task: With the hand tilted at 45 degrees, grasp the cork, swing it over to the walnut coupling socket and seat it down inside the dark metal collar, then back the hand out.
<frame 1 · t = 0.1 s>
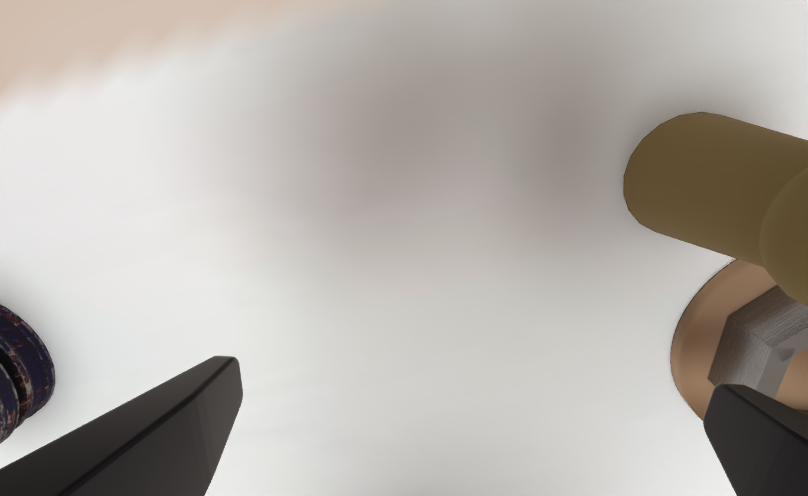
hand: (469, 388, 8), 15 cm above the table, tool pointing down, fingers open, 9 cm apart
coupling socket: (793, 341, 23), on the table
cork: (684, 175, 21), on the table
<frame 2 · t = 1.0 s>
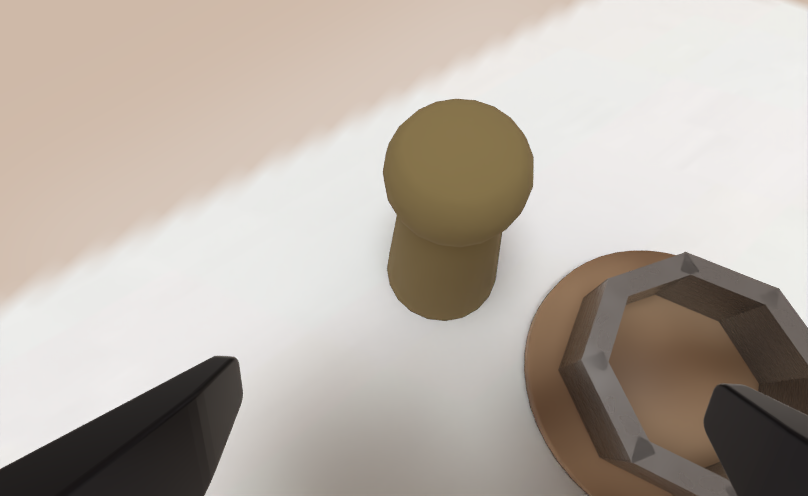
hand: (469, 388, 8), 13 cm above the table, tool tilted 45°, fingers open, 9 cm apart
coupling socket: (657, 379, 20), on the table
cork: (441, 268, 23), on the table
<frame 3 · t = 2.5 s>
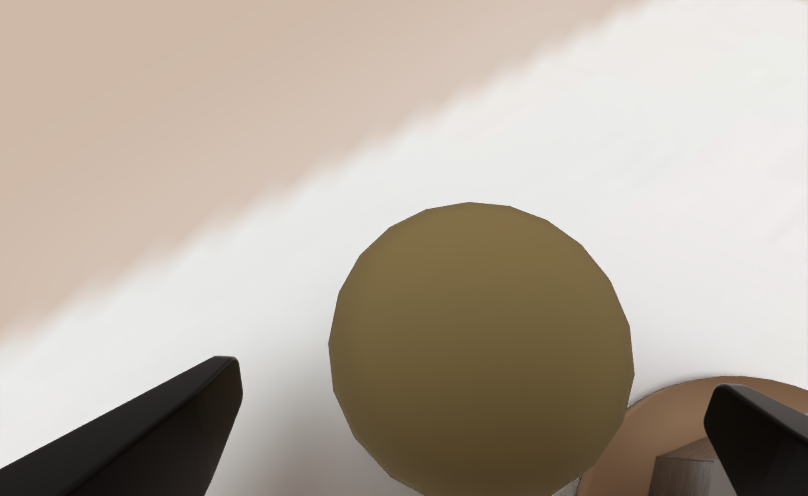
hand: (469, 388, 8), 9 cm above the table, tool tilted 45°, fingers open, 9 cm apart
cork: (441, 394, 16), on the table
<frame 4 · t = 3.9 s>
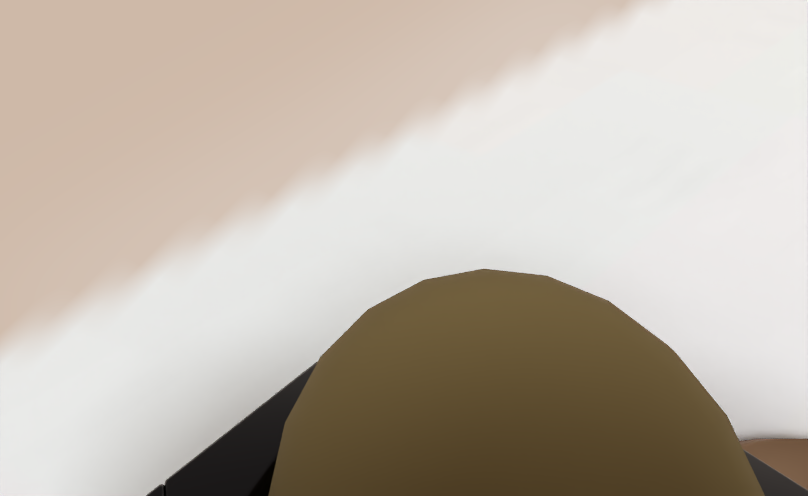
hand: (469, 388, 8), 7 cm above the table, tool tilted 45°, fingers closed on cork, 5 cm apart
cork: (443, 455, 14), on the table, touching gripper
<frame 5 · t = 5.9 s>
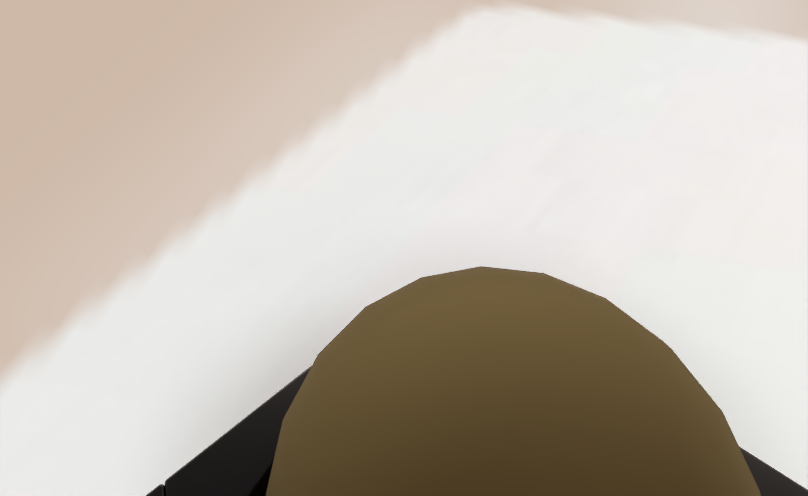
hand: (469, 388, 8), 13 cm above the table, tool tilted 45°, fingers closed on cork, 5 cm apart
cork: (442, 453, 14), point 6 cm above the table, touching gripper
when the fingers open (8 cm above the table, at t = 7.9 s): cork stays where it is, resting on coupling socket.
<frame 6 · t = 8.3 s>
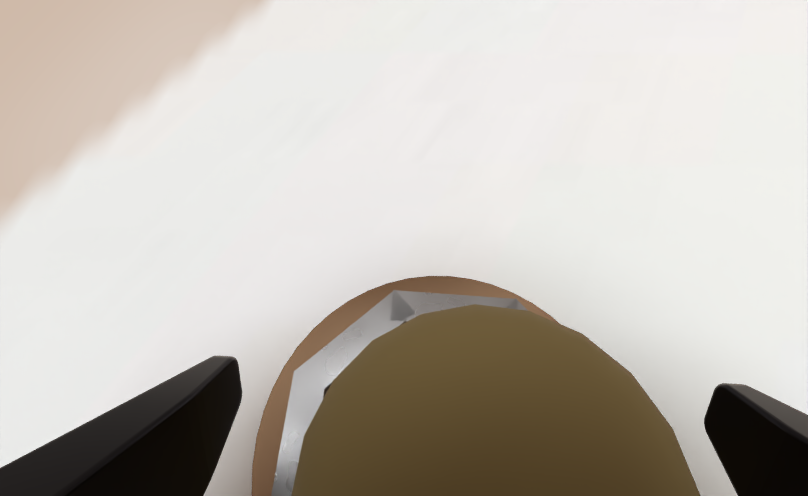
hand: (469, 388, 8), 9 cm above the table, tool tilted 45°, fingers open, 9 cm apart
coupling socket: (440, 453, 15), on the table
cork: (441, 459, 14), point 1 cm above the table, touching coupling socket
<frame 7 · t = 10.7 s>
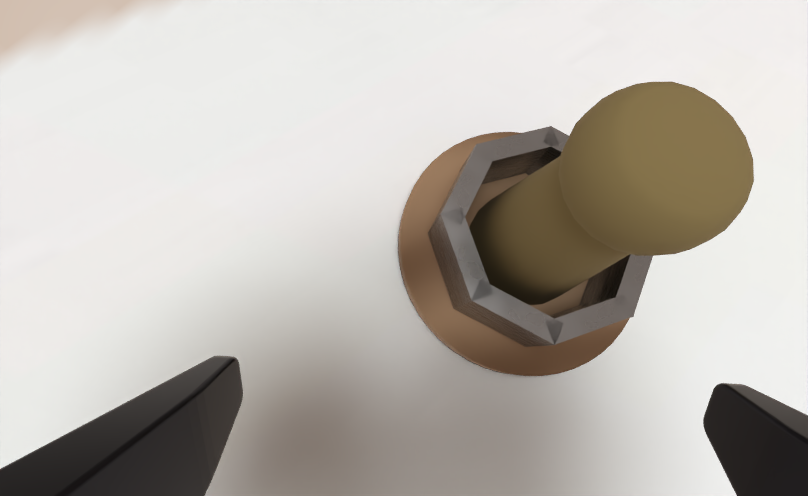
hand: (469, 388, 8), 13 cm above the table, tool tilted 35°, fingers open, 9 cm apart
coupling socket: (517, 249, 23), on the table
cork: (522, 248, 22), point 1 cm above the table, touching coupling socket
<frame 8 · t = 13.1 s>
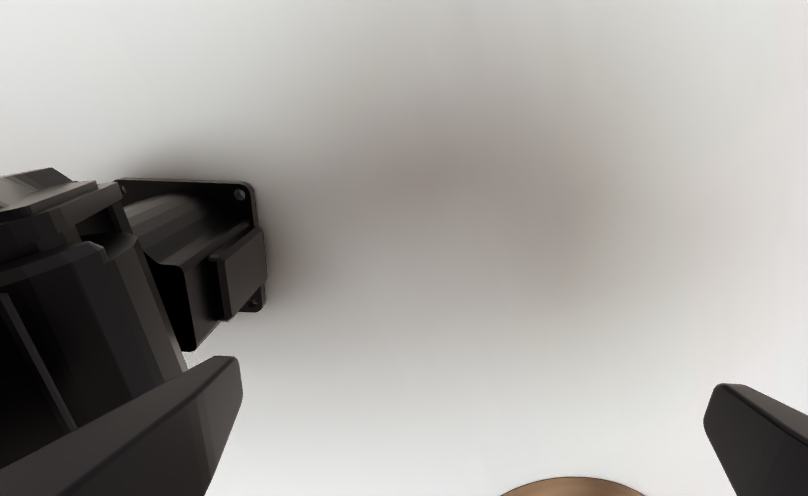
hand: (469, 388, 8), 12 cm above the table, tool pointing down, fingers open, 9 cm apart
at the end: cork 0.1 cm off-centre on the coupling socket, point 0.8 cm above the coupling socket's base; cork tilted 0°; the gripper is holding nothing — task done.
